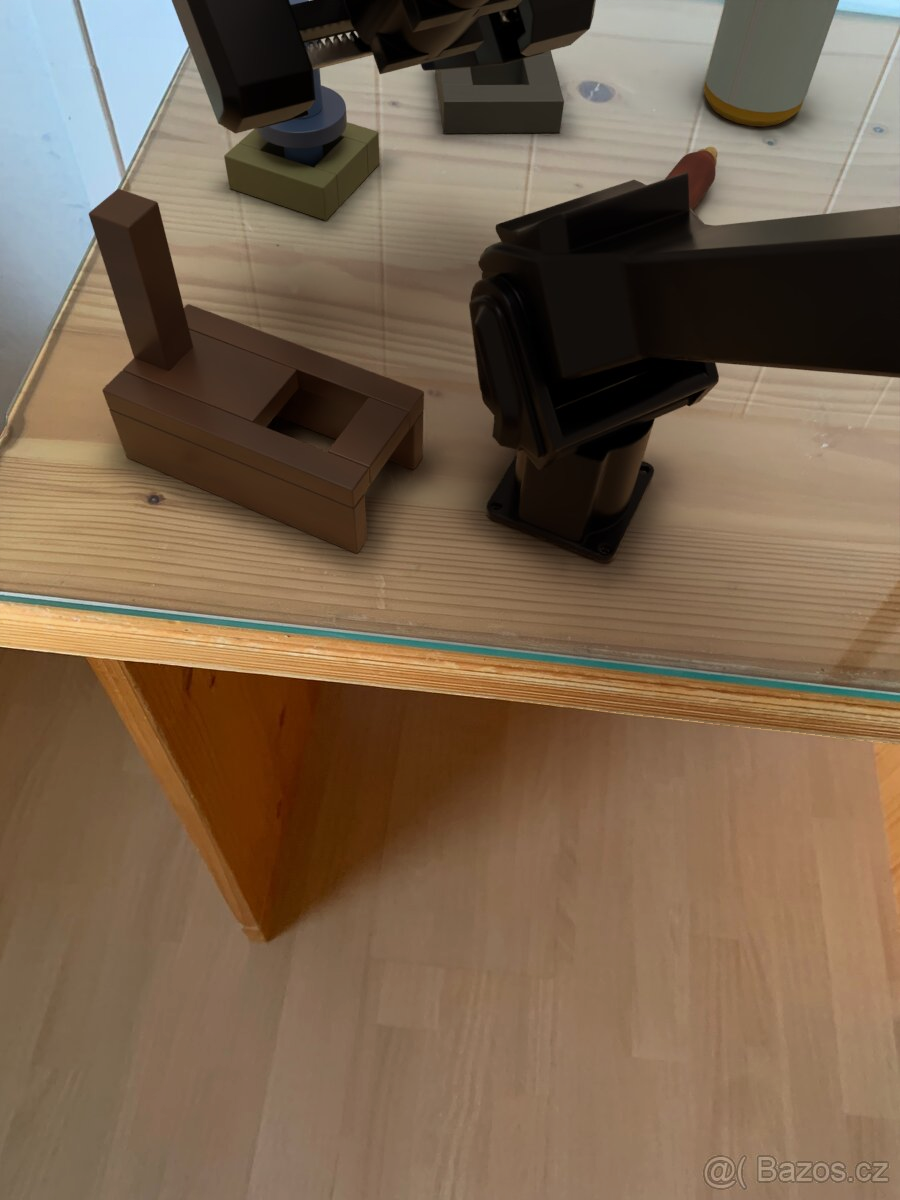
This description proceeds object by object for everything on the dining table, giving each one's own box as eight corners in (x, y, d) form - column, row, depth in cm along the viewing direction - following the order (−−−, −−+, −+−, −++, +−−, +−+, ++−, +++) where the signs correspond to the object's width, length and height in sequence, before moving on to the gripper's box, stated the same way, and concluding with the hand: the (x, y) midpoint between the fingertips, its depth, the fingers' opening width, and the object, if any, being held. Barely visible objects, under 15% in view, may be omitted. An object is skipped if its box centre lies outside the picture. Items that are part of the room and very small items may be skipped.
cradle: (326, 221, 57) (323, 188, 56) (229, 188, 59) (223, 155, 57) (380, 164, 61) (379, 131, 59) (287, 134, 62) (283, 102, 61)
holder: (560, 133, 64) (564, 100, 62) (443, 133, 63) (444, 101, 61) (544, 72, 68) (548, 40, 66) (435, 72, 68) (436, 40, 66)
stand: (357, 554, 43) (341, 353, 33) (125, 457, 46) (47, 245, 36) (423, 457, 47) (426, 249, 37) (204, 372, 50) (152, 158, 40)
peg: (347, 203, 58) (336, 34, 50) (257, 201, 58) (231, 30, 50) (352, 153, 62) (343, -15, 53) (266, 150, 61) (244, -18, 53)
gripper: (602, -362, 36) (448, -119, 50) (126, -312, 30) (107, -54, 44) (681, -45, 38) (514, 99, 53) (259, 56, 33) (200, 186, 47)
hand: (345, 79), depth 49 cm, fingers open, 9 cm apart
